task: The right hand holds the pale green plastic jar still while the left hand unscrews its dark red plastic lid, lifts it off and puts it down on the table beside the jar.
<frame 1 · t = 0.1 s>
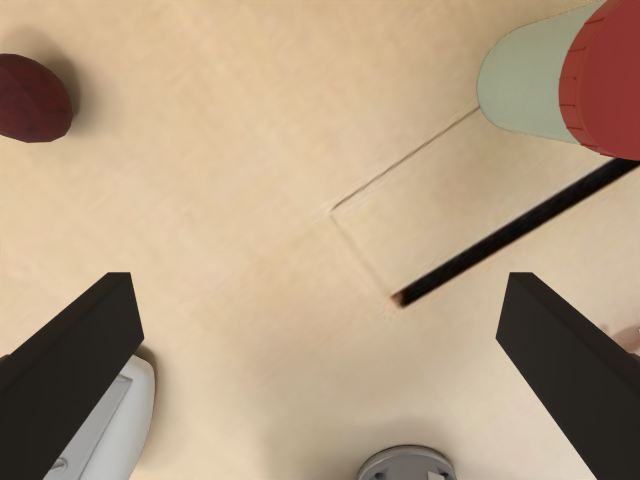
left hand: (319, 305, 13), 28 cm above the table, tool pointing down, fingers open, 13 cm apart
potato: (51, 101, 36), on the table
jar: (526, 80, 36), on the table
projector: (102, 401, 51), on the table
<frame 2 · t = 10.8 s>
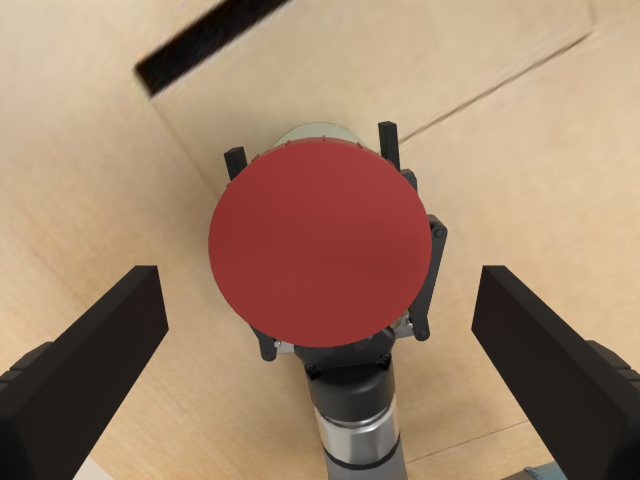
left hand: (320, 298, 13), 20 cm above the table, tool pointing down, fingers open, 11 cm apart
jar: (320, 180, 32), on the table, touching right hand
lid: (320, 253, 17), point 16 cm above the table, screwed on, not yet turned
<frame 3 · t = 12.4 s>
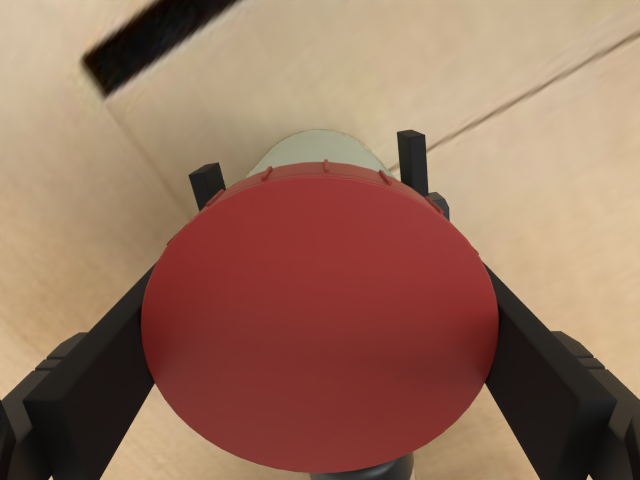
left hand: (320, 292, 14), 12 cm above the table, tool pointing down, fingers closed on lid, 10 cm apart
jar: (319, 201, 25), on the table, touching right hand
lid: (319, 344, 11), point 16 cm above the table, screwed on, not yet turned, touching left hand
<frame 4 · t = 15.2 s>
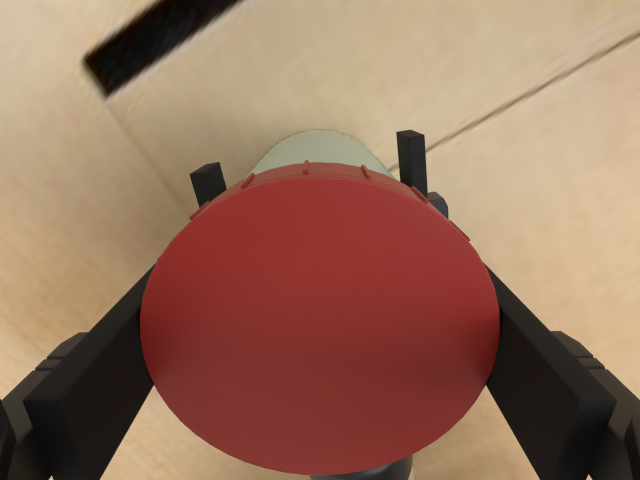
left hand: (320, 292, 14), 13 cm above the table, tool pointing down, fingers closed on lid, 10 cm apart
jar: (319, 201, 25), on the table, touching right hand
lid: (319, 345, 11), point 16 cm above the table, turned 78° so far, risen 0.2 cm, still on its thread, touching left hand
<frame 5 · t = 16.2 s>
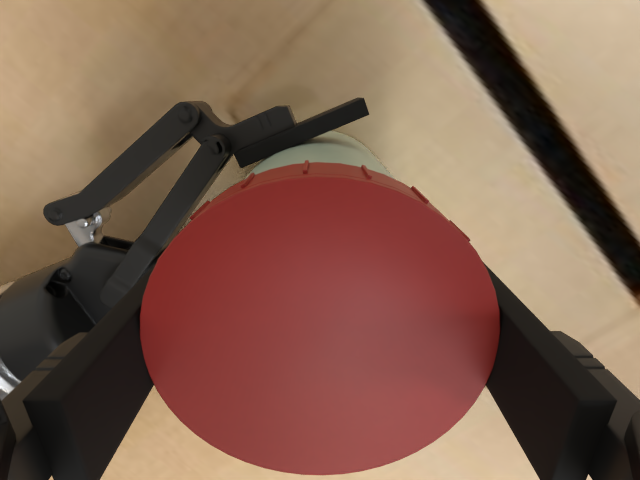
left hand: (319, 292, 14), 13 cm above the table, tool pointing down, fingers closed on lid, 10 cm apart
right hand: (395, 201, 19), fingers closed on jar, 10 cm apart
jar: (319, 200, 26), on the table, touching right hand
lid: (319, 345, 11), point 16 cm above the table, off its thread, touching left hand
when the left hand's fingers open (0 cm above the table, at t = 21.5 s): lid drops 2 cm, point 2 cm above the table.
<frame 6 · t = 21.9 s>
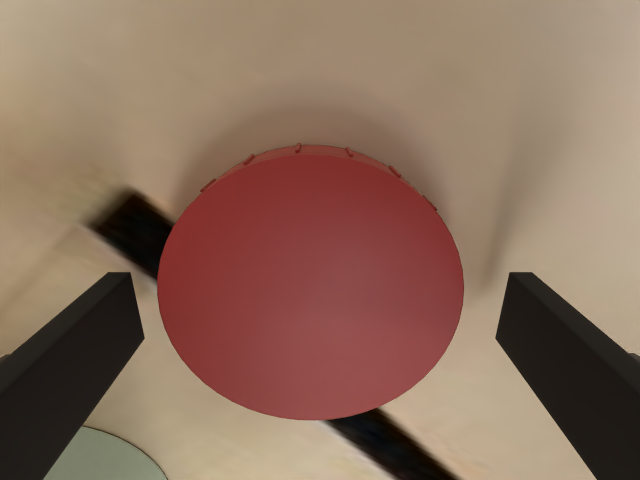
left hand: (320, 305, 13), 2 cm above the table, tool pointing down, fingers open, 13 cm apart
lid: (311, 303, 13), point 2 cm above the table, off its thread
when the right hand's fingers open (6 cm above the table, at t = 22.6 s): jar stays where it is, on the table.
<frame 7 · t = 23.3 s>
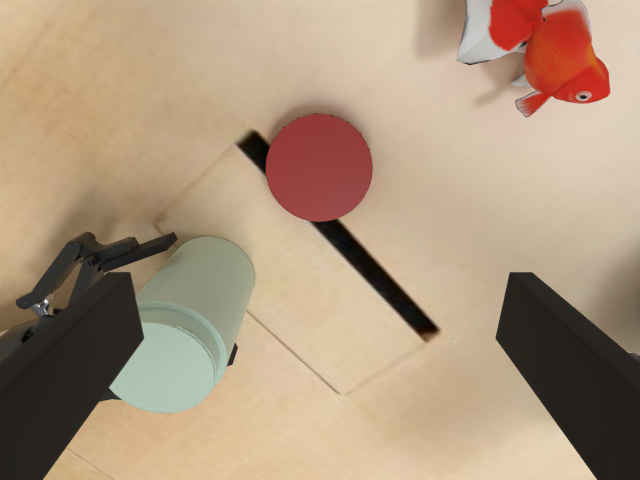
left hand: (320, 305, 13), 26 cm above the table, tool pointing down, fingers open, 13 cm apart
right hand: (204, 300, 36), fingers open, 13 cm apart
fish: (499, 41, 33), on the table
jar: (212, 275, 42), on the table
lid: (319, 170, 35), point 2 cm above the table, off its thread
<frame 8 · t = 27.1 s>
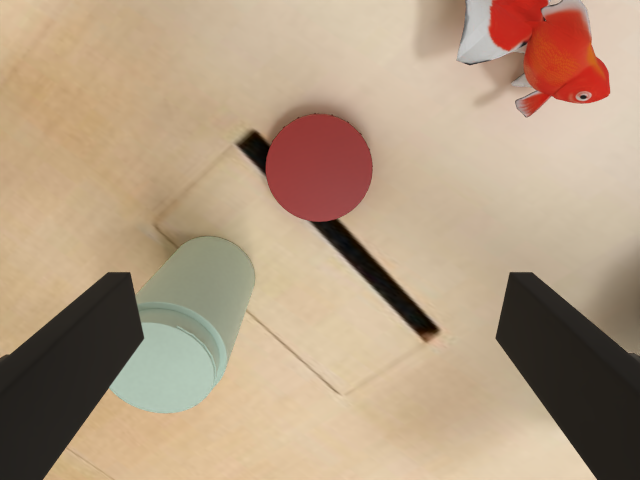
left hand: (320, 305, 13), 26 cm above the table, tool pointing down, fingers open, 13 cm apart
fish: (499, 41, 33), on the table
jar: (212, 275, 42), on the table
lid: (319, 170, 35), point 2 cm above the table, off its thread
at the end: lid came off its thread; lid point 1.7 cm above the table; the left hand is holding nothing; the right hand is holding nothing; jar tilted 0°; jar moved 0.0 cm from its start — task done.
